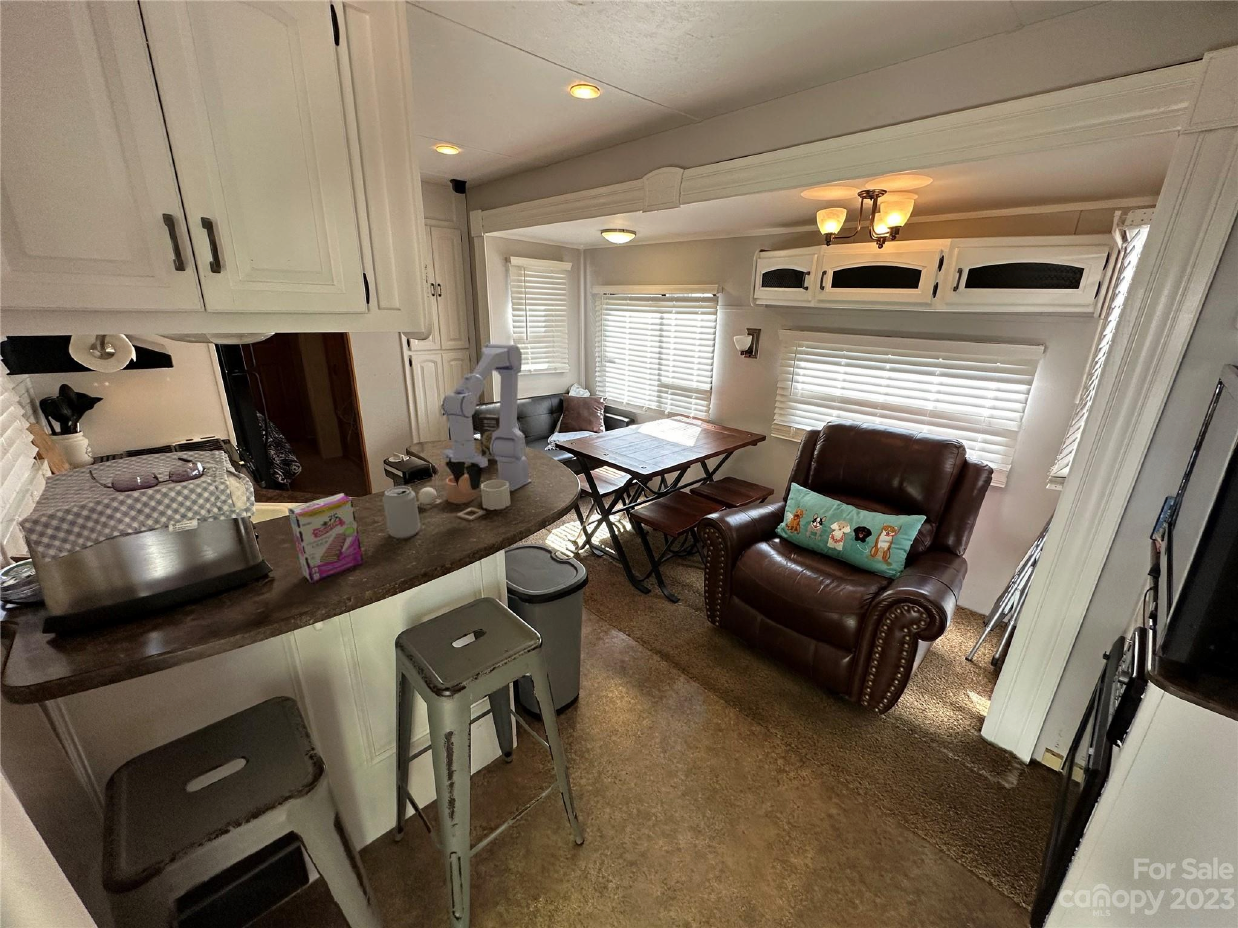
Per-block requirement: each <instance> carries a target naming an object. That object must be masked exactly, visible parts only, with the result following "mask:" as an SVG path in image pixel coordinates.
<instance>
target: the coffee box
mask: <svg viewBox="0 0 1238 928" xmlns="http://www.w3.org/2000/svg"><path fill="white" fill-rule="evenodd" d="M477 419H478V427H479V439H480V448H481V450H480V451H481V456H482V457H484V458H487V460H495V457H494V456H493V455H492V454H491V451H490V444H491V441H492V434H493V433H494V432H495V431H496V430H498V429H499V426H500V413H496V412H495V413H493V412H492V413H491V412H485V413H482V414H480V415H479V416H478V418H477ZM502 438H508V437H502Z"/></svg>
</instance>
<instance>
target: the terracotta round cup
mask: <svg viewBox="0 0 1238 928" xmlns="http://www.w3.org/2000/svg"><path fill="white" fill-rule="evenodd" d="M464 474H465V475H468V473H467V474H466V473H464ZM445 487H446V494H447V502H449V503H453V504H456V503H457V504H464V503H466V504H467V503H469V502H471V501H473V500H475V499H476V490H474V491H473V492H471V493H464V492H462V491H461V490H460V489H459V487H458V486H457V484H456V482H455V479H454V477H453V475H452V476H449V477H447V478H446V481H445Z"/></svg>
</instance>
